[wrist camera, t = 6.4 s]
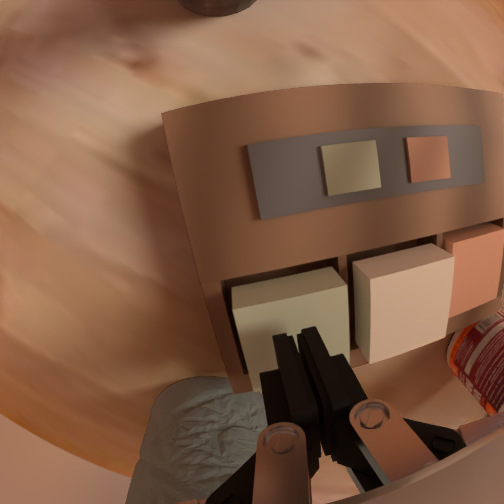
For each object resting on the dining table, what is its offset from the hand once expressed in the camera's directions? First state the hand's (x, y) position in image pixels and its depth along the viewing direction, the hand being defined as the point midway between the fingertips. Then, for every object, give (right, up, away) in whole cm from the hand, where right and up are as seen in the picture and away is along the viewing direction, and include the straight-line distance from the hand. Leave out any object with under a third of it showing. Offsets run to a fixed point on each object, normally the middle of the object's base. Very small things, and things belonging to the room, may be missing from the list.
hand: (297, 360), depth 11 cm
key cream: (+5, +2, +3) cm, 7 cm away
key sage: (0, +1, +3) cm, 3 cm away
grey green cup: (-4, -8, +8) cm, 12 cm away
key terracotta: (+11, +4, +4) cm, 12 cm away
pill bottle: (+16, -3, +8) cm, 18 cm away
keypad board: (+5, +6, +4) cm, 9 cm away
